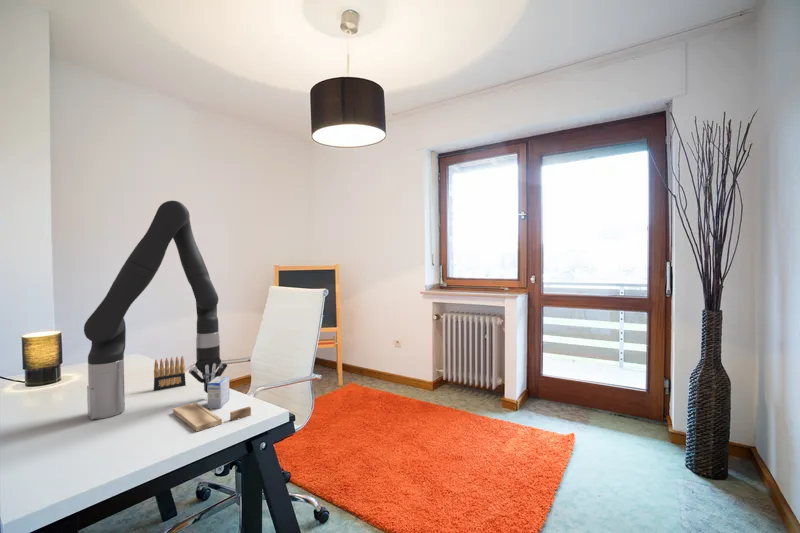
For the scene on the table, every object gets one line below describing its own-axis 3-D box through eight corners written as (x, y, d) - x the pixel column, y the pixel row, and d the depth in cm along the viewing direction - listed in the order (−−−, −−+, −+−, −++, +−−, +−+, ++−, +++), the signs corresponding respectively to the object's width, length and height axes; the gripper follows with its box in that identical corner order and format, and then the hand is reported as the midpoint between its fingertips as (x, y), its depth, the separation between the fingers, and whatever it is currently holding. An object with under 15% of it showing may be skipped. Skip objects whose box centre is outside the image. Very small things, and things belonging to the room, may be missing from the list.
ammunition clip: (154, 391, 144) (153, 360, 144) (153, 390, 145) (153, 359, 145) (185, 385, 150) (185, 355, 150) (185, 384, 152) (184, 354, 152)
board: (196, 431, 107) (196, 426, 107) (173, 413, 121) (173, 408, 121) (221, 423, 112) (221, 418, 112) (196, 406, 127) (196, 402, 127)
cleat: (231, 420, 114) (231, 413, 114) (230, 419, 115) (230, 412, 115) (250, 414, 119) (250, 407, 119) (249, 413, 120) (249, 406, 120)
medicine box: (216, 400, 132) (216, 376, 132) (229, 400, 133) (229, 375, 133) (207, 409, 124) (206, 383, 124) (221, 408, 125) (220, 382, 125)
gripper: (222, 340, 142) (223, 385, 142) (184, 346, 132) (185, 395, 132) (231, 343, 137) (231, 390, 137) (191, 349, 127) (193, 400, 127)
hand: (209, 392), depth 135 cm, fingers closed
